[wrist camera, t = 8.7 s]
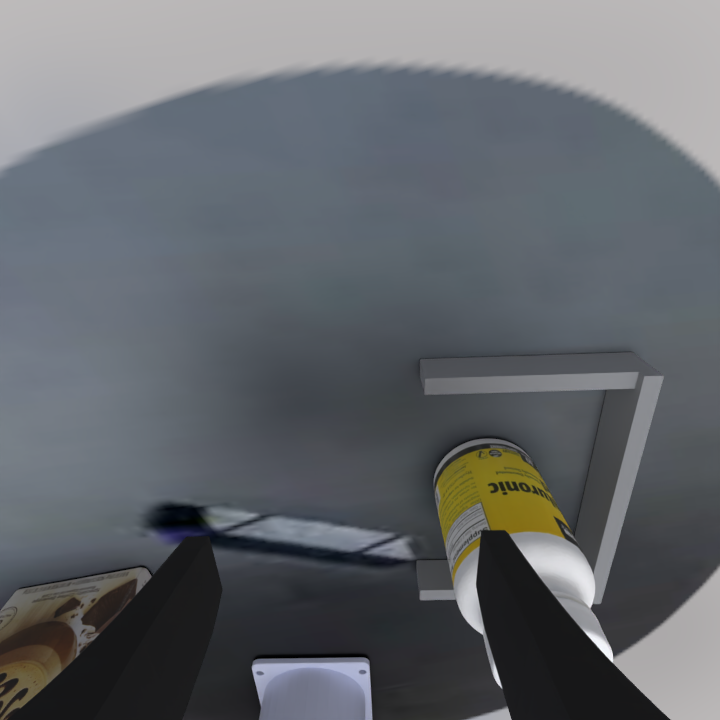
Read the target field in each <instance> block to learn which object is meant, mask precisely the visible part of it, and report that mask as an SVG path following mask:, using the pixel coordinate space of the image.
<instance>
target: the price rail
mask: <svg viewBox="0 0 720 720" xmlns="http://www.w3.org/2000/svg"><path fill="white" fill-rule="evenodd" d="M420 378H421V382H422V386H423V390H424V394H425V395H441V394H474V393H507V392H540V391H572V390H605V389H607V390H606V395H605V399H604V404H603V408H602V413H601V417H600V422H599V427H598V431H597V436H596V440H595V445H594V449H593V454H592V458H591V463H590V467H589V472H588V476H587V481H586V486H585V490H584V495H583V499H582V504H581V508H580V513H579V517H578V522H577V526H576V531H575V535H574V537H575V539H576V541H577V542H578V544H579V546H580V547H581V549H582V551H583V553H584V555H585V557H586V559H587V561H588V563H589V565H590V567H591V569H592V572H593V575H594V580H595V596H594V600H593V603H592V604H601V600H602V597H603V593H604V590H605V586H606V583H607V579H608V575H609V572H610V568H611V565H612V561H613V557H614V554H615V550H616V547H617V543H618V539H619V536H620V532H621V529H622V525H623V522H624V518H625V514H626V511H627V507H628V504H629V500H630V496H631V493H632V489H633V486H634V482H635V478H636V475H637V471H638V468H639V464H640V461H641V457H642V453H643V450H644V446H645V443H646V439H647V435H648V432H649V428H650V425H651V421H652V417H653V414H654V410H655V407H656V403H657V400H658V396H659V392H660V389H661V385H662V382H663V378H664V375H663V374H661V373H660V372H659V371H657V370H656V369H655V368H653V367H652V366H650V365H649V364H648V363H646V362H645V361H644V360H642V359H641V358H640V357H638V356H637V355H636V354H634V353H633V352H619V353H589V354H558V355H528V356H498V357H467V358H437V359H420ZM416 572H417V580H418V588H419V596H420V600H456V596H455V592H454V587H453V582H452V577H451V572H450V567H449V563H448V560H416Z"/></svg>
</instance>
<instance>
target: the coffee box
mask: <svg viewBox="0 0 720 720" xmlns="http://www.w3.org/2000/svg"><path fill="white" fill-rule="evenodd" d="M151 577H152V576H151V574H150V573H149V571H148V570H147V569H146V568H142V567H139V568H134V569H129V570H123V571H118V572H113V573H107V574H101V575H96V576H90V577H85V578H79V579H74V580H68V581H63V582H57V583H51V584H46V585H40V586H34V587H29V588H23V589H19V590H17V591H16V592H15V593H14V594H13V595H12V597H11V598H10V599H9V600H8V602H7V603H6V604H5V605H4V607H3V608H2V609H1V611H0V720H7V719H8V718H9V717H11V716H12V715H13V714H14V713H15V712H17V711H18V710H19V709H20V708H21V707H22V706H24V705H25V704H26V703H27V702H28V701H29V700H30V699H32V698H33V697H34V696H35V695H36V694H37V693H39V692H40V691H41V690H42V689H43V688H44V687H45V686H46V685H47V684H48V683H50V682H51V681H52V680H53V679H54V678H55V677H56V676H57V675H58V674H59V673H60V672H61V671H63V670H64V669H65V668H66V667H67V666H68V665H69V664H70V663H71V662H72V661H73V660H74V659H75V658H76V657H77V656H78V655H79V654H80V653H81V652H82V651H83V650H84V649H85V648H86V647H87V646H88V645H89V644H90V643H91V642H92V641H93V640H94V639H95V638H96V637H97V636H98V635H99V634H100V633H101V632H102V631H103V630H104V629H105V628H106V627H107V626H108V625H109V623H110V622H111V621H112V620H113V619H114V618H115V617H116V616H117V615H118V614H119V613H120V612H121V611H122V610H123V609H124V607H125V606H126V605H127V604H128V603H129V602H130V601H131V600H132V599H133V597H134V596H135V595H136V594H137V593H138V592H139V591H140V590H141V589H142V587H143V586H144V585H145V584H146V583H147V582H148V581H149V579H150V578H151Z"/></svg>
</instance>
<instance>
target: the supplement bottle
mask: <svg viewBox="0 0 720 720" xmlns="http://www.w3.org/2000/svg"><path fill="white" fill-rule="evenodd" d="M433 484H434V494H435V499H436V504H437V510H438V515H439V519H440V524H441V529H442V533H443V538H444V543H445V548H446V554H447V558H448V563H449V567H450V572H451V577H452V582H453V587H454V592H455V596H456V600H457V603H458V606H459V609H460V611H461V613H462V615H463V616H464V618H465V619H466V621H467V622H468V623H469V624H470V625H471V626H472V627H473V628H474V629H475V630H477V631H478V632H480V633H481V634H483V637H484V641H485V646H486V650H487V654H488V658H489V661H490V665H491V669H492V673H493V676H494V678H495V680H496V682H497V683H498V685H499V686H500V687H501V688H502V686H501V682H500V679H499V676H498V673H497V669H496V666H495V663H494V659H493V656H492V653H491V649H490V646H489V642H488V639H487V636H486V632H485V629H484V625H483V620H482V615H481V610H480V605H479V599H478V594H477V589H476V578H477V568H478V557H479V547H480V537H481V530H505V531H506V532H508V533H509V535H510V536H511V538H512V539H513V541H514V542H515V544H516V545H517V547H518V548H519V549H520V551H521V552H522V554H523V555H524V557H525V558H526V559H527V561H528V562H529V563H530V565H531V566H532V567H533V569H534V570H535V571H536V573H537V574H538V576H539V577H540V578H541V579H542V581H543V582H544V583H545V585H546V586H547V587H548V589H549V590H550V591H551V592H552V593H553V595H554V596H555V597H556V598H557V600H558V601H559V602H560V603H561V605H562V606H563V607H564V608H565V610H566V611H567V612H568V613H569V614H570V616H571V617H572V618H573V619H574V620H575V622H576V623H577V624H578V625H579V626H580V627H581V628H582V630H583V631H584V632H585V633H586V634H587V635H588V636H589V638H590V639H591V640H592V641H593V642H594V643H595V644H596V645H597V647H598V648H599V649H600V650H601V651H602V652H603V653H604V654H605V655H606V656H607V657H608V658H609V660H610V661H611V662H612V663H613V653H612V649H611V647H610V645H609V643H608V641H607V639H606V637H605V635H604V633H603V631H602V629H601V627H600V624H599V622H598V619H597V618H596V616H595V615H594V613H593V612H592V611H591V609H590V608H591V606H592V603H593V600H594V596H595V580H594V575H593V572H592V569H591V567H590V565H589V563H588V561H587V559H586V557H585V555H584V553H583V551H582V549H581V547H580V546H579V544H578V542H577V541H576V539H575V537H574V535H573V533H572V532H571V530H570V528H569V526H568V524H567V523H566V521H565V519H564V517H563V515H562V513H561V511H560V510H559V508H558V506H557V504H556V502H555V501H554V499H553V497H552V495H551V493H550V491H549V490H548V488H547V486H546V484H545V482H544V481H543V479H542V477H541V475H540V473H539V471H538V469H537V468H536V466H535V464H534V463H533V461H532V460H531V458H530V457H529V456H528V455H527V453H525V452H524V451H523V450H522V449H521V448H519V447H518V446H516V445H514V444H512V443H510V442H507V441H504V440H499V439H491V438H487V439H477V440H472V441H469V442H466V443H464V444H462V445H460V446H458V447H456V448H455V449H453V450H452V451H451V452H449V453H448V454H447V455H446V456H445V457H444V458H443V460H442V461H441V462H440V464H439V465H438V467H437V469H436V472H435V475H434V483H433Z"/></svg>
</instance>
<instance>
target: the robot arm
mask: <svg viewBox="0 0 720 720" xmlns="http://www.w3.org/2000/svg"><path fill="white" fill-rule="evenodd" d="M476 589H477V594H478V599H479V605H480V610H481V615H482V620H483V625H484V629H485V632H486V636H487V639H488V642H489V646H490V649H491V653H492V656H493V659H494V663H495V666H496V669H497V673H498V676H499V679H500V682H501V686H502V689H503V692H504V696H505V699H506V702H507V706H508V709H509V712H510V716H511V719H512V720H670V719H669V718H668V717H667V716H666V715H665V714H664V713H663V712H661V711H660V710H659V709H658V708H657V707H656V706H655V705H654V704H653V703H652V702H651V701H650V700H649V699H648V698H647V697H646V696H645V695H644V694H643V693H642V692H641V691H640V690H639V689H638V688H637V687H636V686H635V685H634V684H633V683H632V682H631V681H630V680H629V679H628V678H627V677H626V676H625V675H624V674H623V673H622V672H621V671H620V670H619V669H618V668H617V667H616V666H615V665H614V664H613V663H612V662H611V661H610V660H609V658H608V657H607V656H606V655H605V654H604V653H603V652H602V651H601V650H600V649H599V648H598V647H597V645H596V644H595V643H594V642H593V641H592V640H591V639H590V638H589V636H588V635H587V634H586V633H585V632H584V631H583V630H582V628H581V627H580V626H579V625H578V624H577V623H576V622H575V620H574V619H573V618H572V617H571V616H570V614H569V613H568V612H567V611H566V610H565V608H564V607H563V606H562V605H561V603H560V602H559V601H558V600H557V598H556V597H555V596H554V595H553V593H552V592H551V591H550V590H549V589H548V587H547V586H546V585H545V583H544V582H543V581H542V579H541V578H540V577H539V576H538V574H537V573H536V571H535V570H534V569H533V567H532V566H531V565H530V563H529V562H528V561H527V559H526V558H525V557H524V555H523V554H522V552H521V551H520V549H519V548H518V547H517V545H516V544H515V542H514V541H513V539H512V538H511V536H510V535H509V533H508V532H506V531H505V530H481V537H480V547H479V557H478V568H477V578H476ZM221 594H222V586H221V582H220V578H219V574H218V570H217V566H216V562H215V558H214V554H213V550H212V546H211V542H210V538H209V536H205V537H186V538H185V539H184V540H183V541H182V542H181V543H180V545H179V546H178V547H177V548H176V549H175V550H174V552H173V553H172V554H171V555H170V556H169V557H168V559H167V560H166V561H165V562H164V563H163V564H162V566H161V567H160V568H159V569H158V570H157V571H156V573H155V574H154V575H153V576H152V577H151V578H150V579H149V581H148V582H147V583H146V584H145V585H144V586H143V587H142V589H141V590H140V591H139V592H138V593H137V594H136V595H135V596H134V597H133V599H132V600H131V601H130V602H129V603H128V604H127V605H126V606H125V607H124V609H123V610H122V611H121V612H120V613H119V614H118V615H117V616H116V617H115V618H114V619H113V620H112V621H111V622H110V623H109V625H108V626H107V627H106V628H105V629H104V630H103V631H102V632H101V633H100V634H99V635H98V636H97V637H96V638H95V639H94V640H93V641H92V642H91V643H90V644H89V645H88V646H87V647H86V648H85V649H84V650H83V651H82V652H81V653H80V654H79V655H78V656H77V657H76V658H75V659H74V660H73V661H72V662H71V663H70V664H69V665H68V666H67V667H66V668H65V669H64V670H63V671H61V672H60V673H59V674H58V675H57V676H56V677H55V678H54V679H53V680H52V681H51V682H50V683H48V684H47V685H46V686H45V687H44V688H43V689H42V690H41V691H40V692H39V693H37V694H36V695H35V696H34V697H33V698H32V699H30V700H29V701H28V702H27V703H26V704H25V705H24V706H22V707H21V708H20V709H19V710H18V711H17V712H15V713H14V714H13V715H12V716H11V717H9V718H8V719H7V720H182V719H183V716H184V713H185V710H186V707H187V705H188V702H189V699H190V696H191V693H192V690H193V687H194V685H195V682H196V679H197V676H198V673H199V670H200V667H201V665H202V662H203V659H204V656H205V653H206V650H207V647H208V644H209V641H210V638H211V635H212V632H213V629H214V624H215V620H216V616H217V612H218V608H219V603H220V598H221ZM252 671H253V675H254V680H255V684H256V688H257V692H258V697H259V701H260V705H261V711H260V717H259V720H373V719H372V700H371V681H370V662H369V660H368V659H367V658H364V657H346V658H273V659H256V660H254V661H253V664H252Z"/></svg>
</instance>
